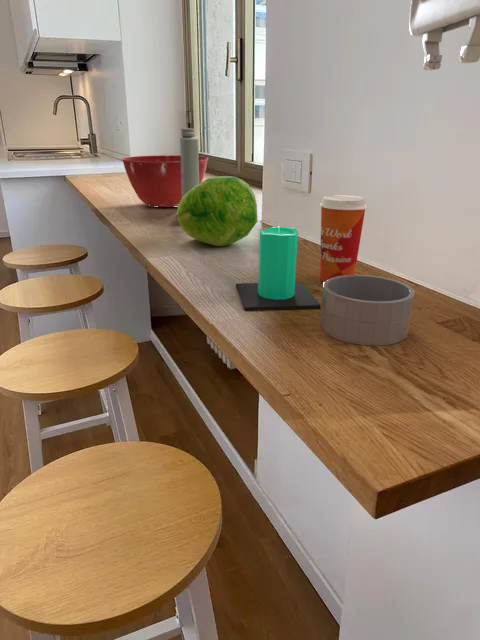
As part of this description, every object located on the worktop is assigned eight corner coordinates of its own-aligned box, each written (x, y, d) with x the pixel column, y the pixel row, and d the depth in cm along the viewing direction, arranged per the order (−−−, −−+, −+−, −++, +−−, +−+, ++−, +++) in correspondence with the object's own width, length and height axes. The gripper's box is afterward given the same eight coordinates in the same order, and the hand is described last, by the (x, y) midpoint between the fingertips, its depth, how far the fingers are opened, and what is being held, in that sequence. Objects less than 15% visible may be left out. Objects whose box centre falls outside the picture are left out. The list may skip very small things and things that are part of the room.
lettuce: (229, 230, 129) (185, 182, 123) (282, 201, 114) (234, 145, 108) (200, 275, 120) (149, 226, 114) (253, 250, 105) (198, 191, 99)
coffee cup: (304, 279, 91) (310, 197, 86) (332, 271, 96) (339, 193, 91) (341, 290, 86) (350, 202, 80) (368, 281, 91) (378, 198, 85)
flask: (181, 215, 150) (179, 127, 141) (197, 215, 151) (195, 127, 141) (183, 227, 134) (180, 128, 125) (200, 227, 135) (198, 128, 125)
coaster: (302, 285, 88) (302, 281, 88) (320, 308, 77) (320, 305, 77) (235, 286, 87) (235, 283, 87) (244, 310, 76) (244, 307, 76)
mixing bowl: (124, 213, 152) (120, 160, 147) (125, 199, 178) (121, 154, 172) (214, 211, 158) (214, 160, 152) (202, 198, 184) (202, 154, 178)
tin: (387, 311, 77) (392, 273, 75) (423, 343, 66) (430, 301, 63) (310, 313, 75) (313, 275, 73) (334, 347, 64) (338, 304, 62)
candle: (282, 286, 86) (286, 216, 81) (301, 296, 81) (306, 223, 76) (251, 290, 83) (253, 219, 79) (268, 301, 78) (271, 226, 74)
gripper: (554, -96, 50) (523, 58, 55) (450, -37, 69) (434, 73, 74) (496, -100, 49) (470, 56, 54) (407, -40, 68) (394, 72, 73)
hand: (448, 66), depth 64 cm, fingers open, 8 cm apart
